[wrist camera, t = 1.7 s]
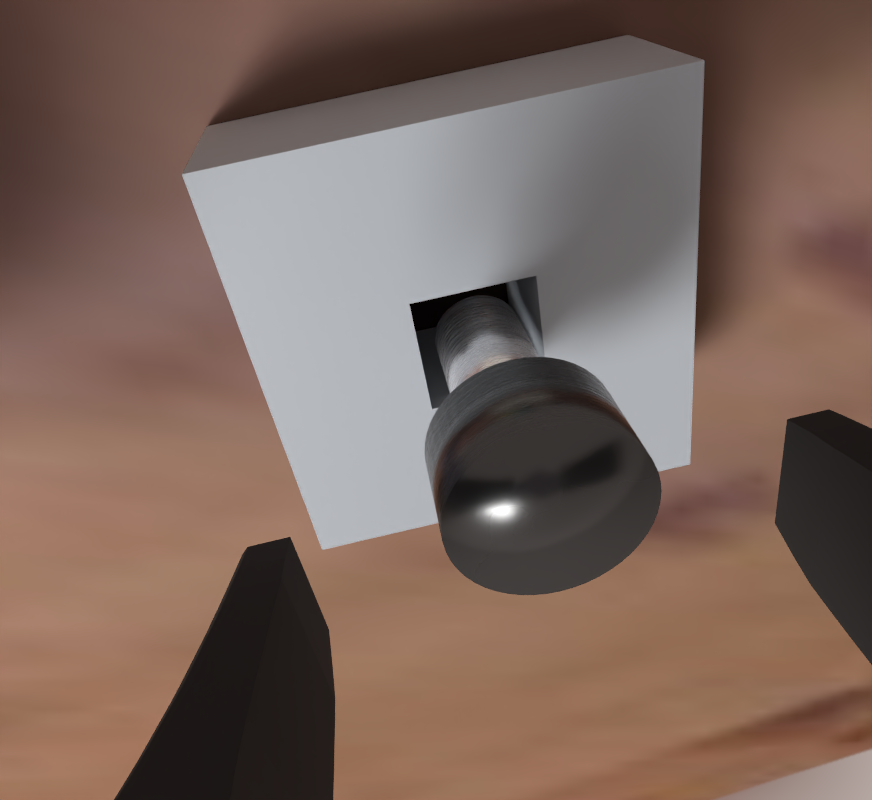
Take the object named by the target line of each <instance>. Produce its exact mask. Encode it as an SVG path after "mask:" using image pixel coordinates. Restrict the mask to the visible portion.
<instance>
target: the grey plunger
mask: <svg viewBox="0 0 872 800" xmlns="http://www.w3.org/2000/svg"><path fill="white" fill-rule="evenodd" d="M435 345H436V348H437V352H438V355H439V358H440V362H441V365H442V368H443V372H444V375H445V378H446V382H447V385H448V388H449V392H450V394H449V395H448V396H447V397H446V399H445V400H444V401H443V402H442V403H441V405H440V406H439V408H438V409H437V411H436V412H435V414H434V416H433V418H432V420H431V422H430V425H429V428H428V431H427V434H426V439H425V453H424V455H425V462H426V467H427V472H428V476H429V481H430V486H431V490H432V495H433V499H434V504H435V509H436V513H437V518H438V523H439V527H440V532H441V536H442V541H443V544H444V547H445V550H446V553H447V555H448V557H449V558H450V560H451V562H452V563H453V564H454V566H455V567H456V568H457V569H458V570H459V571H460V572H461V573H462V574H463V575H464V576H466V577H467V578H469V579H470V580H472V581H473V582H475V583H477V584H479V585H481V586H483V587H485V588H488V589H491V590H494V591H498V592H503V593H508V594H517V595H538V594H548V593H553V592H558V591H563V590H566V589H570V588H573V587H576V586H579V585H581V584H584V583H587V582H589V581H591V580H593V579H595V578H597V577H599V576H601V575H602V574H604V573H606V572H607V571H609V570H611V569H612V568H614V567H615V566H616V565H618V564H619V563H620V562H622V561H623V560H624V559H625V558H626V557H627V556H629V555H630V554H631V553H632V552H633V551H634V550H635V549H636V548H637V546H638V545H639V544H640V543H641V542H642V540H643V539H644V538H645V536H646V535H647V533H648V532H649V530H650V528H651V527H652V525H653V523H654V520H655V518H656V516H657V513H658V509H659V505H660V500H661V481H660V477H659V473H658V470H657V468H656V466H655V464H654V461H653V460H652V458H651V457H650V455H649V453H648V452H647V450H646V449H645V447H644V446H643V444H642V443H641V441H640V439H639V438H638V436H637V435H636V433H635V432H634V430H633V429H632V427H631V425H630V424H629V422H628V421H627V419H626V418H625V416H624V415H623V413H622V412H621V410H620V408H619V407H618V405H617V404H616V402H615V401H614V399H613V398H612V396H611V394H610V393H609V391H608V390H607V389H606V387H605V386H604V385H603V383H602V382H601V381H600V380H599V379H598V378H597V377H596V376H595V375H593V374H592V373H590V372H589V371H588V370H586V369H584V368H582V367H580V366H578V365H576V364H574V363H571V362H568V361H565V360H561V359H556V358H549V357H539V356H538V354H537V353H536V351H535V349H534V347H533V345H532V343H531V341H530V339H529V338H528V336H527V334H526V332H525V330H524V328H523V326H522V324H521V323H520V321H519V319H518V317H517V315H516V313H515V312H514V310H513V309H512V308H511V307H510V306H509V305H508V304H507V303H506V302H504V301H502V300H500V299H498V298H495V297H492V296H485V295H479V296H472V297H468V298H465V299H463V300H460V301H458V302H457V303H455V304H454V305H452V306H451V307H450V308H449V309H448V310H447V311H446V312H445V313H444V314H443V315H442V317H441V318H440V320H439V322H438V324H437V327H436V331H435Z"/></svg>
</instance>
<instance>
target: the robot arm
mask: <svg viewBox="0 0 872 800" xmlns="http://www.w3.org/2000/svg"><path fill="white" fill-rule="evenodd" d="M775 524H776V526H777V527H778V529H779V531H780V533H781V535H782V536H783V538H784V540H785V542H786V544H787V545H788V547H789V549H790V551H791V553H792V554H793V556H794V558H795V559H796V561H797V563H798V564H799V566H800V568H801V569H802V571H803V573H804V574H805V576H806V578H807V579H808V581H809V583H810V584H811V586H812V587H813V588H814V590H815V591H816V592H817V594H818V595H819V596H820V598H821V599H822V600H823V602H824V603H825V604H826V606H827V607H828V608H829V610H830V611H831V612H832V614H833V615H834V616H835V618H836V619H837V620H838V622H839V623H840V624H841V626H842V627H843V628H844V629H845V631H846V632H847V633H848V635H849V636H850V637H851V639H852V640H853V641H854V642H855V644H856V645H857V646H858V648H859V649H860V650H861V651H862V653H863V654H864V655H865V657H866V658H867V659H868V661H869V662H870V663H871V664H872V429H871V428H869V427H867V426H865V425H863V424H860V423H858V422H856V421H854V420H852V419H850V418H847V417H845V416H843V415H841V414H838V413H836V412H834V411H831V410H825V411H821V412H816V413H812V414H808V415H804V416H799V417H795V418H791V419H787V426H786V434H785V443H784V451H783V459H782V468H781V476H780V485H779V493H778V501H777V510H776V518H775ZM334 737H335V691H334V679H333V667H332V657H331V647H330V637H329V629H328V626H327V624H326V622H325V619H324V617H323V615H322V612H321V610H320V607H319V605H318V603H317V600H316V598H315V595H314V593H313V591H312V588H311V586H310V583H309V581H308V579H307V576H306V574H305V571H304V569H303V567H302V564H301V562H300V559H299V557H298V555H297V552H296V550H295V548H294V545H293V543H292V540H291V538H290V537H288V538H284V539H279V540H275V541H271V542H267V543H263V544H258V545H254V546H250V547H247V549H246V550H245V552H244V553H243V555H242V557H241V559H240V561H239V564H238V566H237V568H236V570H235V573H234V575H233V577H232V579H231V581H230V584H229V586H228V588H227V590H226V593H225V595H224V597H223V599H222V601H221V603H220V606H219V608H218V610H217V612H216V614H215V616H214V618H213V620H212V623H211V625H210V627H209V629H208V631H207V633H206V635H205V637H204V639H203V641H202V643H201V645H200V647H199V649H198V651H197V653H196V655H195V657H194V659H193V661H192V663H191V665H190V667H189V669H188V671H187V673H186V675H185V677H184V679H183V681H182V683H181V685H180V687H179V688H178V690H177V692H176V694H175V696H174V698H173V700H172V702H171V703H170V705H169V707H168V709H167V710H166V712H165V714H164V716H163V717H162V719H161V721H160V723H159V725H158V726H157V728H156V730H155V732H154V733H153V735H152V737H151V739H150V740H149V742H148V744H147V746H146V748H145V749H144V751H143V753H142V755H141V756H140V758H139V760H138V762H137V763H136V765H135V767H134V768H133V770H132V771H131V773H130V775H129V776H128V778H127V780H126V781H125V783H124V785H123V786H122V788H121V789H120V791H119V793H118V794H117V796H116V797H115V799H114V800H333V782H334Z"/></svg>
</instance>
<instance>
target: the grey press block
mask: <svg viewBox="0 0 872 800" xmlns="http://www.w3.org/2000/svg"><path fill="white" fill-rule="evenodd" d="M704 64H705V60H703V59H700V58H697V57H694V56H691V55H688V54H685V53H682V52H679V51H676V50H673V49H670V48H667V47H664V46H661V45H658V44H655V43H652V42H649V41H646V40H643V39H640V38H637V37H634V36H631V35H625V36H620V37H616V38H611V39H606V40H602V41H597V42H593V43H588V44H583V45H579V46H574V47H570V48H565V49H560V50H556V51H551V52H547V53H542V54H537V55H533V56H528V57H523V58H519V59H514V60H510V61H505V62H500V63H496V64H491V65H487V66H482V67H477V68H473V69H468V70H464V71H459V72H454V73H450V74H445V75H441V76H436V77H431V78H427V79H422V80H418V81H413V82H408V83H404V84H399V85H394V86H390V87H385V88H381V89H376V90H371V91H367V92H362V93H358V94H353V95H348V96H344V97H339V98H335V99H330V100H325V101H321V102H316V103H312V104H307V105H302V106H298V107H293V108H288V109H284V110H279V111H275V112H270V113H265V114H261V115H256V116H252V117H247V118H242V119H238V120H233V121H229V122H224V123H219V124H215V125H210V126H207V127H206V129H205V131H204V133H203V135H202V136H201V138H200V140H199V142H198V144H197V146H196V148H195V150H194V152H193V154H192V156H191V158H190V160H189V162H188V164H187V166H186V167H185V169H184V171H183V173H182V176H183V179H184V181H185V184H186V187H187V189H188V192H189V195H190V197H191V200H192V203H193V206H194V208H195V211H196V214H197V216H198V219H199V222H200V224H201V227H202V230H203V232H204V235H205V238H206V240H207V243H208V246H209V248H210V251H211V254H212V256H213V259H214V262H215V264H216V267H217V270H218V272H219V275H220V278H221V280H222V283H223V286H224V288H225V291H226V294H227V296H228V299H229V302H230V304H231V307H232V310H233V312H234V315H235V318H236V320H237V323H238V326H239V328H240V331H241V334H242V336H243V339H244V342H245V345H246V347H247V350H248V353H249V355H250V358H251V361H252V363H253V366H254V369H255V371H256V374H257V377H258V379H259V382H260V385H261V387H262V390H263V393H264V395H265V398H266V401H267V403H268V406H269V409H270V411H271V414H272V417H273V419H274V422H275V425H276V427H277V430H278V433H279V435H280V438H281V441H282V443H283V446H284V449H285V451H286V454H287V457H288V459H289V462H290V465H291V467H292V470H293V473H294V475H295V478H296V481H297V483H298V486H299V489H300V492H301V494H302V497H303V500H304V502H305V505H306V508H307V510H308V513H309V516H310V518H311V521H312V524H313V526H314V529H315V532H316V534H317V537H318V540H319V542H320V545H321V548H322V550H324V549H328V548H332V547H336V546H341V545H345V544H349V543H354V542H358V541H362V540H367V539H371V538H375V537H379V536H384V535H388V534H392V533H397V532H401V531H405V530H409V529H414V528H418V527H422V526H427V525H431V524H435V523H438V518H437V513H436V509H435V504H434V499H433V495H432V490H431V486H430V481H429V476H428V472H427V467H426V462H425V455H424V453H425V439H426V434H427V431H428V428H429V425H430V422H431V420H432V418H433V416H434V414H435V412H436V411H437V409H438V408H439V406H440V405H441V403H442V402H443V401H444V400H445V399H446V397H447V396H448V395H449V394H450V392H449V388H448V385H447V382H446V378H445V375H444V372H443V368H442V365H441V362H440V358H439V355H438V352H437V348H436V345H435V331H436V327H434V328H429V329H425V330H420V331H416V332H415V328H414V323H413V319H412V314H411V309H410V305H409V304H412V303H417V302H421V301H426V300H430V299H434V298H439V297H443V296H448V295H452V294H457V293H461V292H466V291H470V290H474V289H479V288H483V287H488V286H492V285H497V284H501V283H506V287H507V294H508V302H509V306H510V307H511V308H512V309H513V310H514V312H515V313H516V315H517V317H518V319H519V321H520V323H521V324H522V326H523V328H524V330H525V332H526V334H527V336H528V338H529V339H530V341H531V343H532V345H533V347H534V349H535V351H536V353H537V354H538V356H539V357H549V358H556V359H561V360H565V361H568V362H571V363H574V364H576V365H578V366H580V367H582V368H584V369H586V370H588V371H589V372H590V373H592V374H593V375H595V376H596V377H597V378H598V379H599V380H600V381H601V382H602V383H603V385H604V386H605V387H606V389H607V390H608V391H609V393H610V394H611V396H612V398H613V399H614V401H615V402H616V404H617V405H618V407H619V408H620V410H621V412H622V413H623V415H624V416H625V418H626V419H627V421H628V422H629V424H630V425H631V427H632V429H633V430H634V432H635V433H636V435H637V436H638V438H639V439H640V441H641V443H642V444H643V446H644V447H645V449H646V450H647V452H648V453H649V455H650V457H651V458H652V460H653V461H654V464H655V466H656V468H657V470H658V471H663V470H667V469H671V468H676V467H680V466H684V465H688V464H690V453H691V425H692V397H693V369H694V341H695V314H696V286H697V258H698V230H699V203H700V175H701V147H702V119H703V91H704Z"/></svg>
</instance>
